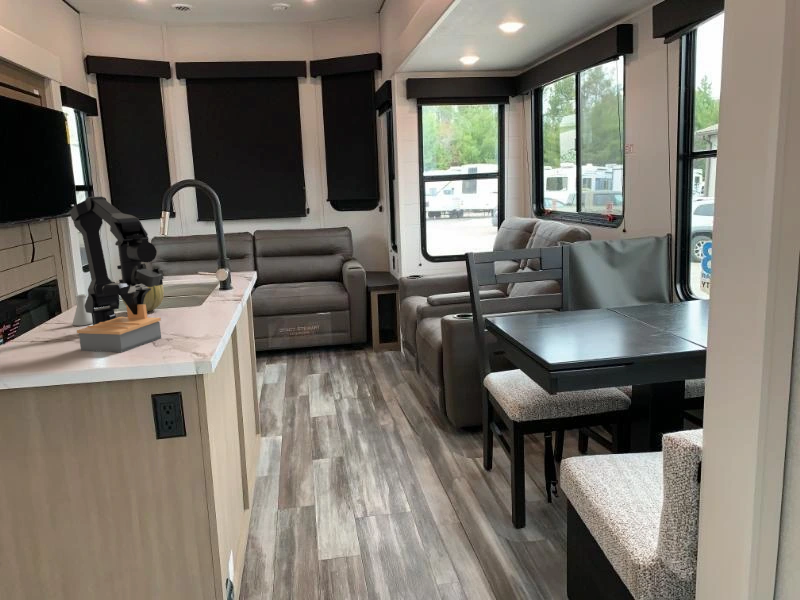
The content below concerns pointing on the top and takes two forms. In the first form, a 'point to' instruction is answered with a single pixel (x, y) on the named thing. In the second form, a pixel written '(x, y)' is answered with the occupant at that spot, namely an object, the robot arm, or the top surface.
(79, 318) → the flask
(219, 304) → the top surface
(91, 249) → the robot arm
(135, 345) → the tub
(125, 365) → the top surface
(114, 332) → the lid
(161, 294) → the cantaloupe
